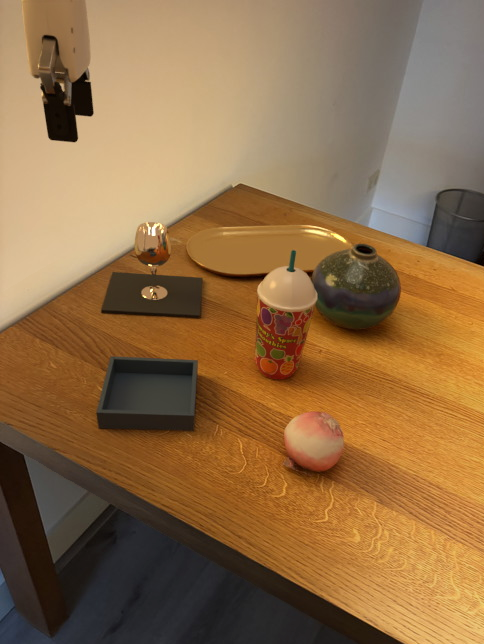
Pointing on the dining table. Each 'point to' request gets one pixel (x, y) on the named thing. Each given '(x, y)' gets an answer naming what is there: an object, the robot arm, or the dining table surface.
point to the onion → (313, 442)
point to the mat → (129, 300)
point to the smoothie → (283, 319)
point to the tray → (148, 394)
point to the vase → (356, 288)
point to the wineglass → (153, 254)
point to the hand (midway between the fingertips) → (72, 127)
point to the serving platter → (262, 248)
